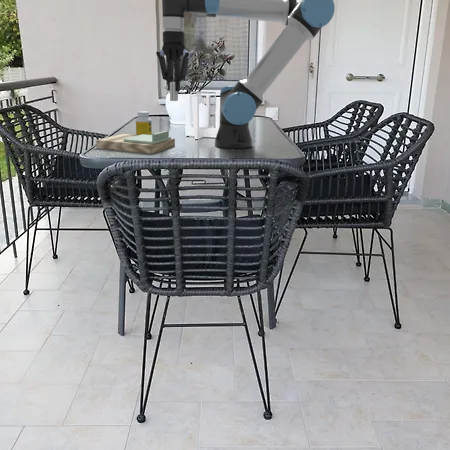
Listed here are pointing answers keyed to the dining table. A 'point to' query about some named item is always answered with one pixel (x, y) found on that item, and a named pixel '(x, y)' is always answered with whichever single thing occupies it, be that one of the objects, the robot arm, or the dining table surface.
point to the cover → (150, 138)
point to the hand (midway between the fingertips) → (174, 100)
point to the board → (133, 144)
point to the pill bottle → (143, 123)
